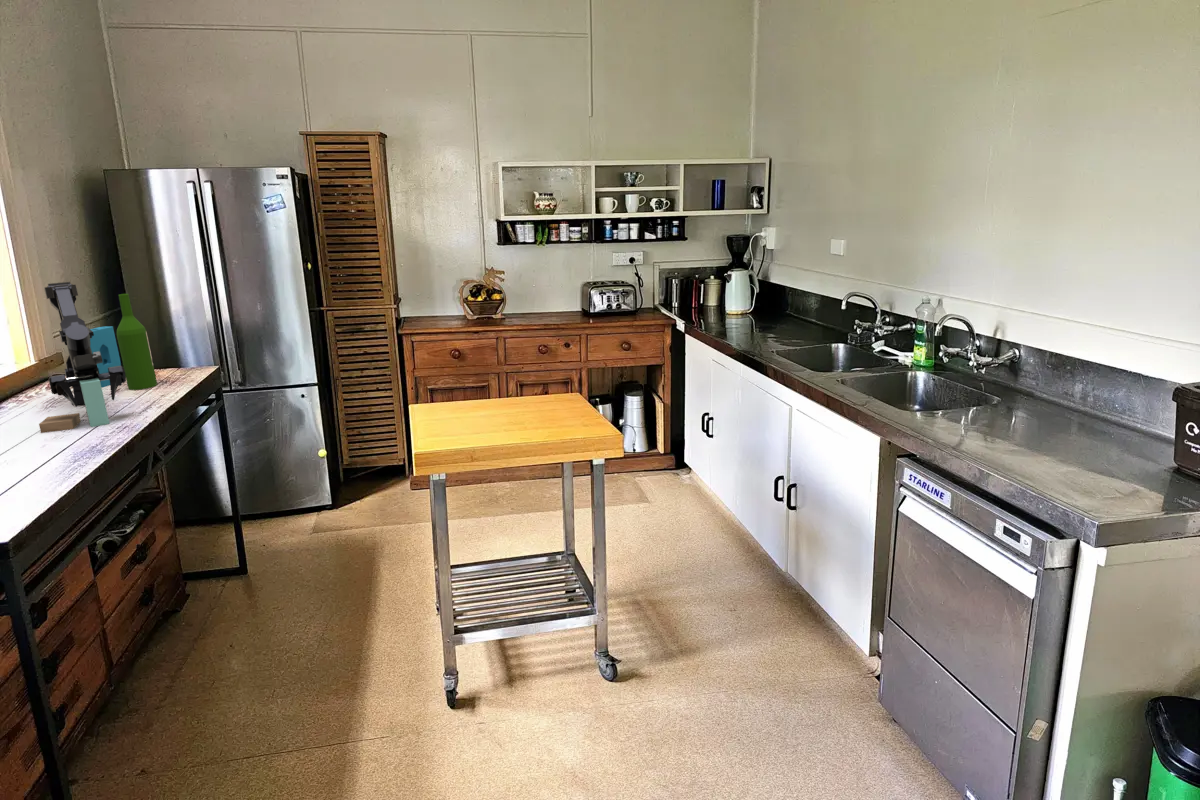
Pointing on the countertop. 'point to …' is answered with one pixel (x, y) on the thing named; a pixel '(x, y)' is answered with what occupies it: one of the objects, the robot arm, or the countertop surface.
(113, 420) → the countertop surface
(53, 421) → the walnut slab
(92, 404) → the teal block
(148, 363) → the wine bottle
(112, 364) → the block
